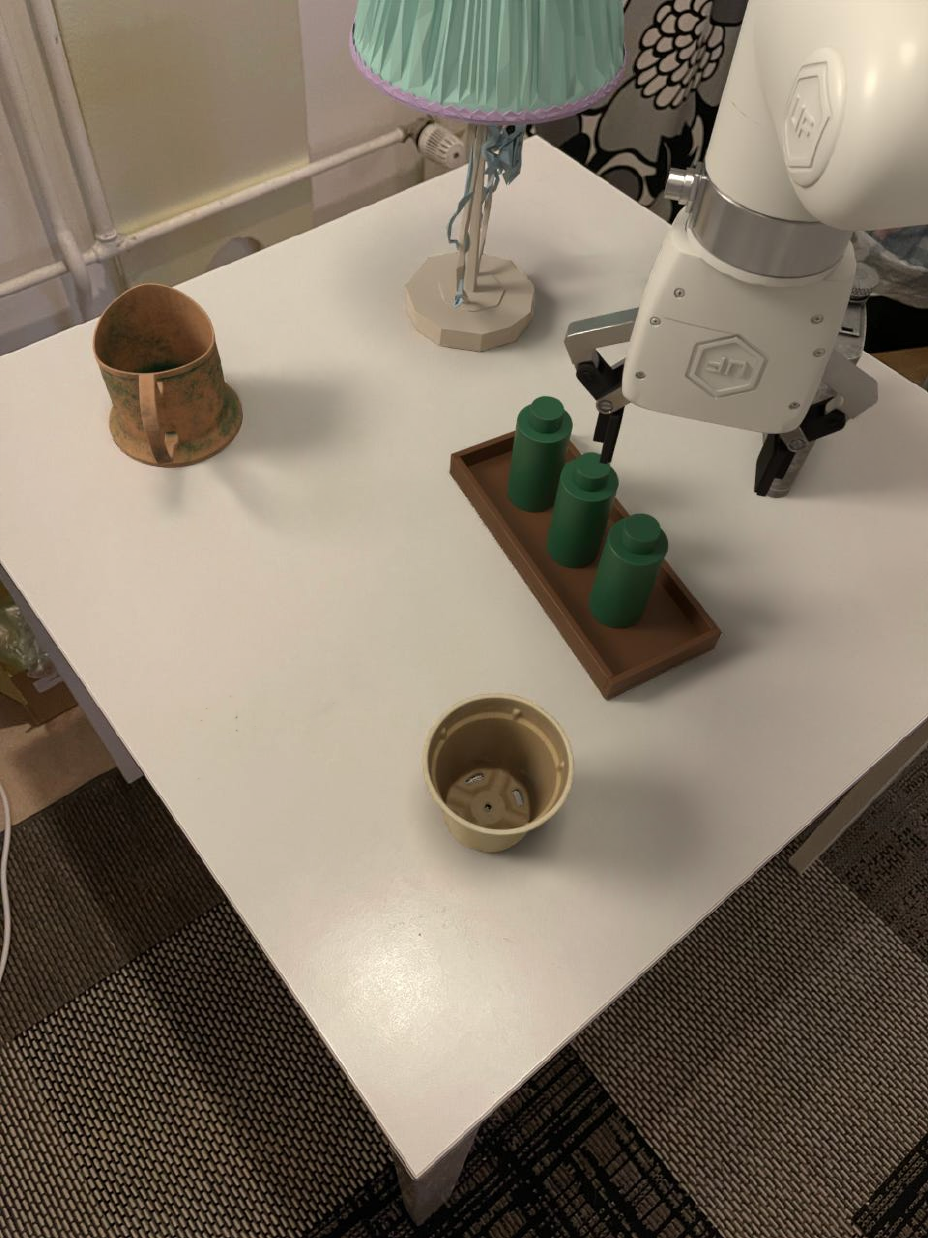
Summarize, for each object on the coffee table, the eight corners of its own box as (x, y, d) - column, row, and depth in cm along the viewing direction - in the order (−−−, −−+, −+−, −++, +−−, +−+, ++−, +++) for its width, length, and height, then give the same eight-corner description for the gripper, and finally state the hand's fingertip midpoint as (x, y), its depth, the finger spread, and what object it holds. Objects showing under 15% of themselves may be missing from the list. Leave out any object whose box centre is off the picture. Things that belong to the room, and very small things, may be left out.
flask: (793, 388, 89) (872, 220, 74) (798, 501, 81) (889, 338, 66) (755, 383, 89) (826, 213, 74) (757, 494, 81) (837, 331, 66)
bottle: (653, 615, 73) (686, 538, 64) (607, 636, 72) (634, 561, 63) (623, 575, 75) (650, 495, 66) (577, 595, 74) (599, 515, 65)
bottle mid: (609, 556, 76) (634, 475, 67) (564, 576, 74) (584, 495, 66) (580, 519, 78) (601, 435, 69) (536, 537, 76) (552, 454, 68)
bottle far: (567, 501, 79) (586, 417, 70) (523, 519, 77) (537, 435, 69) (541, 466, 81) (556, 380, 72) (497, 483, 79) (508, 397, 71)
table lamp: (556, 403, 86) (653, -115, 52) (333, 357, 88) (289, -173, 54) (592, 263, 97) (690, -235, 64) (394, 225, 99) (389, -280, 66)
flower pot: (583, 810, 64) (605, 759, 57) (492, 907, 60) (504, 866, 53) (485, 724, 68) (494, 666, 60) (392, 811, 64) (390, 760, 56)
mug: (109, 529, 75) (63, 424, 65) (110, 379, 84) (70, 267, 74) (252, 512, 77) (229, 408, 67) (238, 367, 86) (215, 256, 76)
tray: (714, 648, 72) (723, 632, 70) (606, 700, 69) (612, 685, 67) (548, 435, 84) (551, 416, 82) (449, 472, 81) (450, 453, 79)
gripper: (580, 224, 42) (537, 478, 56) (965, 295, 40) (821, 538, 55) (604, 139, 46) (558, 396, 60) (955, 200, 45) (823, 449, 59)
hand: (683, 463), depth 58 cm, fingers open, 9 cm apart
